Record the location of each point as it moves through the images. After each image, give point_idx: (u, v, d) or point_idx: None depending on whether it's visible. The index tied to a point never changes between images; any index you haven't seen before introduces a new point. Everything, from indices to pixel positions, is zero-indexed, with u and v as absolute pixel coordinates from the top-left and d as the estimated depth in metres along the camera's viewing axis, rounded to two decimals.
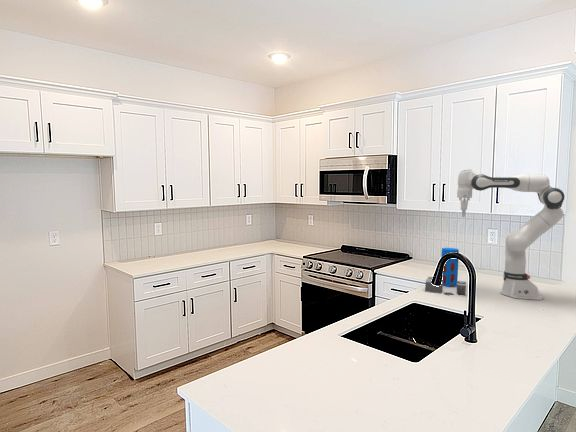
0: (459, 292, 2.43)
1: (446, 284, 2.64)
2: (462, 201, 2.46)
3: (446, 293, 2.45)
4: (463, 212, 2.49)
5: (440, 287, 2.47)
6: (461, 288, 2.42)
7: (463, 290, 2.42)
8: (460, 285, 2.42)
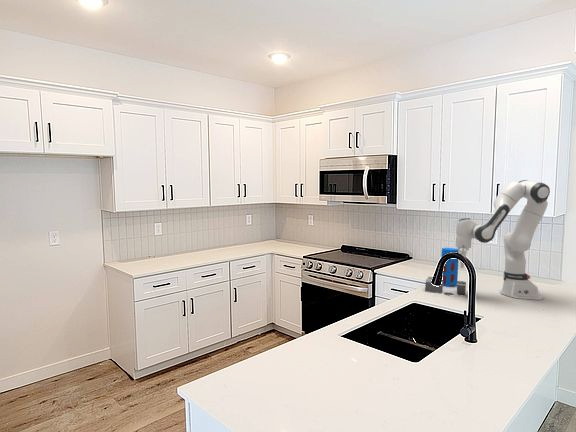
0: (459, 292, 2.43)
1: (446, 284, 2.64)
2: (461, 252, 2.34)
3: (446, 293, 2.45)
4: (461, 263, 2.38)
5: (440, 287, 2.47)
6: (461, 288, 2.42)
7: (463, 290, 2.42)
8: (460, 285, 2.42)
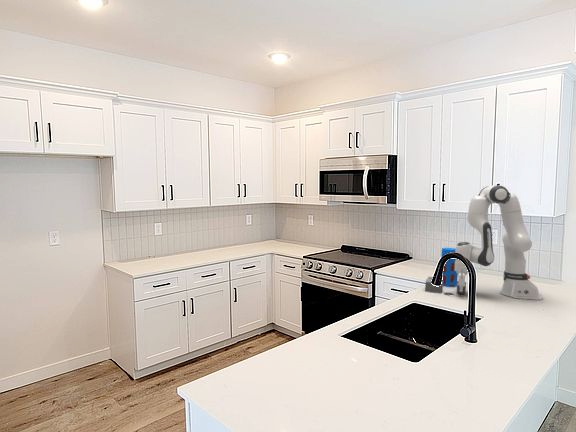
0: (459, 292, 2.43)
1: (446, 284, 2.64)
2: (459, 277, 2.35)
3: (446, 293, 2.45)
4: (461, 287, 2.40)
5: (440, 287, 2.47)
6: None
7: (463, 290, 2.42)
8: None
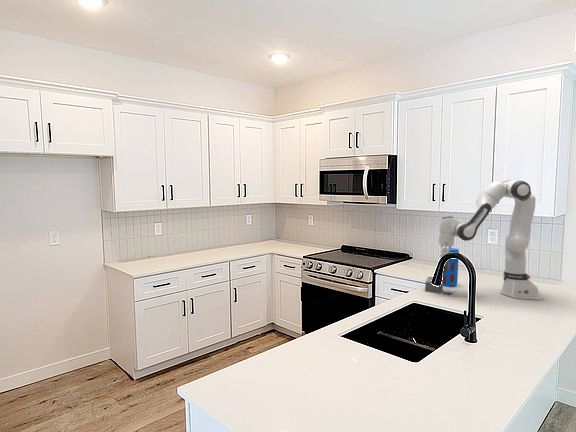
0: None
1: (446, 284, 2.64)
2: (443, 250, 2.39)
3: (446, 293, 2.45)
4: None
5: (440, 287, 2.47)
6: None
7: (446, 263, 2.45)
8: None
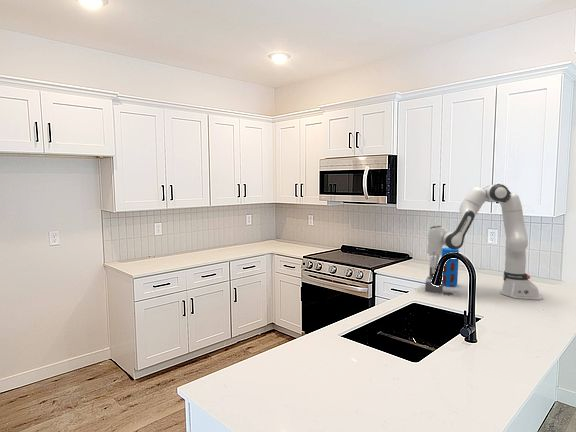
0: (431, 273, 2.51)
1: (446, 284, 2.64)
2: (431, 259, 2.43)
3: (446, 293, 2.45)
4: (433, 269, 2.48)
5: (440, 287, 2.47)
6: None
7: None
8: None
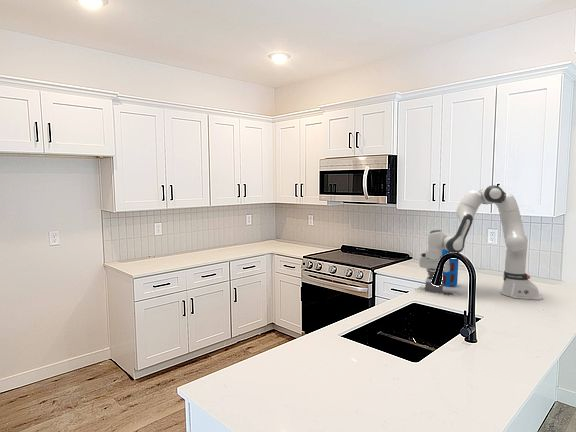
0: None
1: (446, 284, 2.64)
2: (447, 264, 2.43)
3: (446, 293, 2.45)
4: None
5: (440, 287, 2.47)
6: None
7: None
8: None
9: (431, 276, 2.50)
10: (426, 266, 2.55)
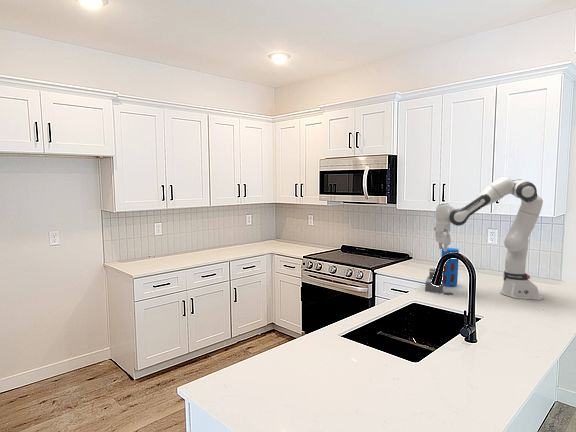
0: None
1: (446, 284, 2.64)
2: (445, 236, 2.43)
3: (446, 293, 2.45)
4: (445, 247, 2.47)
5: (440, 287, 2.47)
6: None
7: None
8: None
9: (431, 277, 2.51)
10: (438, 240, 2.57)
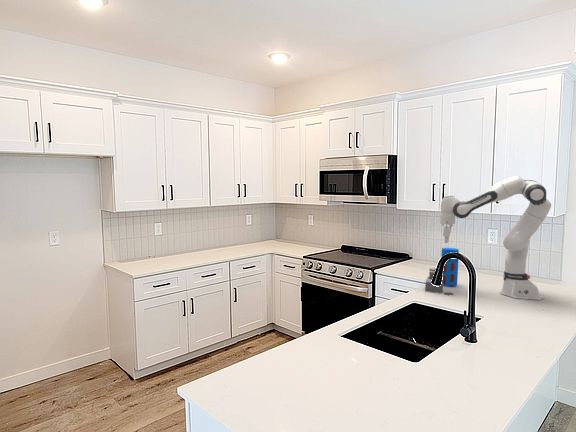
0: None
1: (446, 284, 2.64)
2: (444, 228, 2.46)
3: (446, 293, 2.45)
4: (446, 238, 2.49)
5: (440, 287, 2.47)
6: None
7: None
8: None
9: (431, 277, 2.51)
10: None
